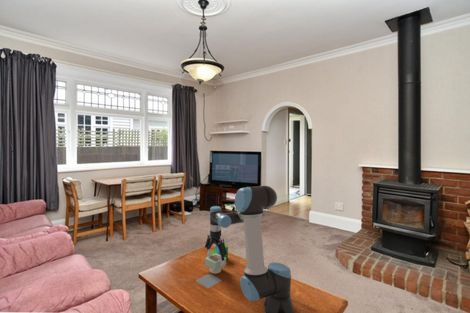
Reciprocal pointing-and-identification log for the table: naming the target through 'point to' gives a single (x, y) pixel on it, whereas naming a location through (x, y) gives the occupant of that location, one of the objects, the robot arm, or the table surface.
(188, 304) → the table surface
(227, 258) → the toy car
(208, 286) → the mat
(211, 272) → the bowl
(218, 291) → the table surface
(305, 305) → the table surface
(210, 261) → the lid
